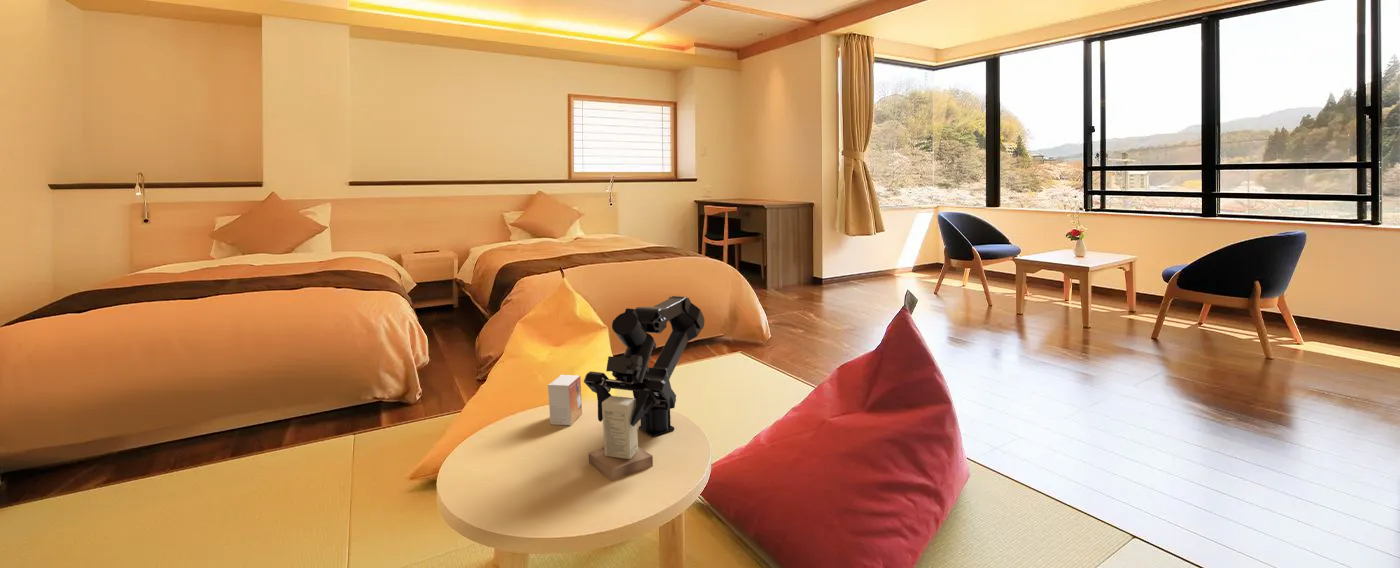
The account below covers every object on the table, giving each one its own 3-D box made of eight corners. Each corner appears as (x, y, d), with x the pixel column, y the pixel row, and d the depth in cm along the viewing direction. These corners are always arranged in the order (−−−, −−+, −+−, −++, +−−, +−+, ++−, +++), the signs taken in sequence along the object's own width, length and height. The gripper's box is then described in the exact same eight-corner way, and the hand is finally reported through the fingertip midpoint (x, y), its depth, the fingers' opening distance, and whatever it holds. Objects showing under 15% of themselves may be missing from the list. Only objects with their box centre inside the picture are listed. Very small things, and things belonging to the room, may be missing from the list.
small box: (571, 426, 157) (568, 385, 155) (549, 424, 158) (547, 384, 156) (583, 413, 165) (580, 375, 163) (562, 412, 166) (560, 374, 164)
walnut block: (628, 452, 144) (628, 439, 143) (653, 468, 136) (652, 455, 135) (589, 465, 138) (588, 452, 137) (611, 483, 130) (611, 469, 130)
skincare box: (638, 451, 138) (637, 398, 135) (630, 460, 134) (628, 405, 131) (612, 447, 140) (610, 394, 137) (602, 455, 136) (601, 401, 133)
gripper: (585, 336, 139) (561, 402, 131) (664, 343, 132) (643, 413, 124) (604, 359, 147) (582, 423, 139) (679, 367, 141) (660, 434, 133)
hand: (615, 423), depth 134 cm, fingers open, 7 cm apart
